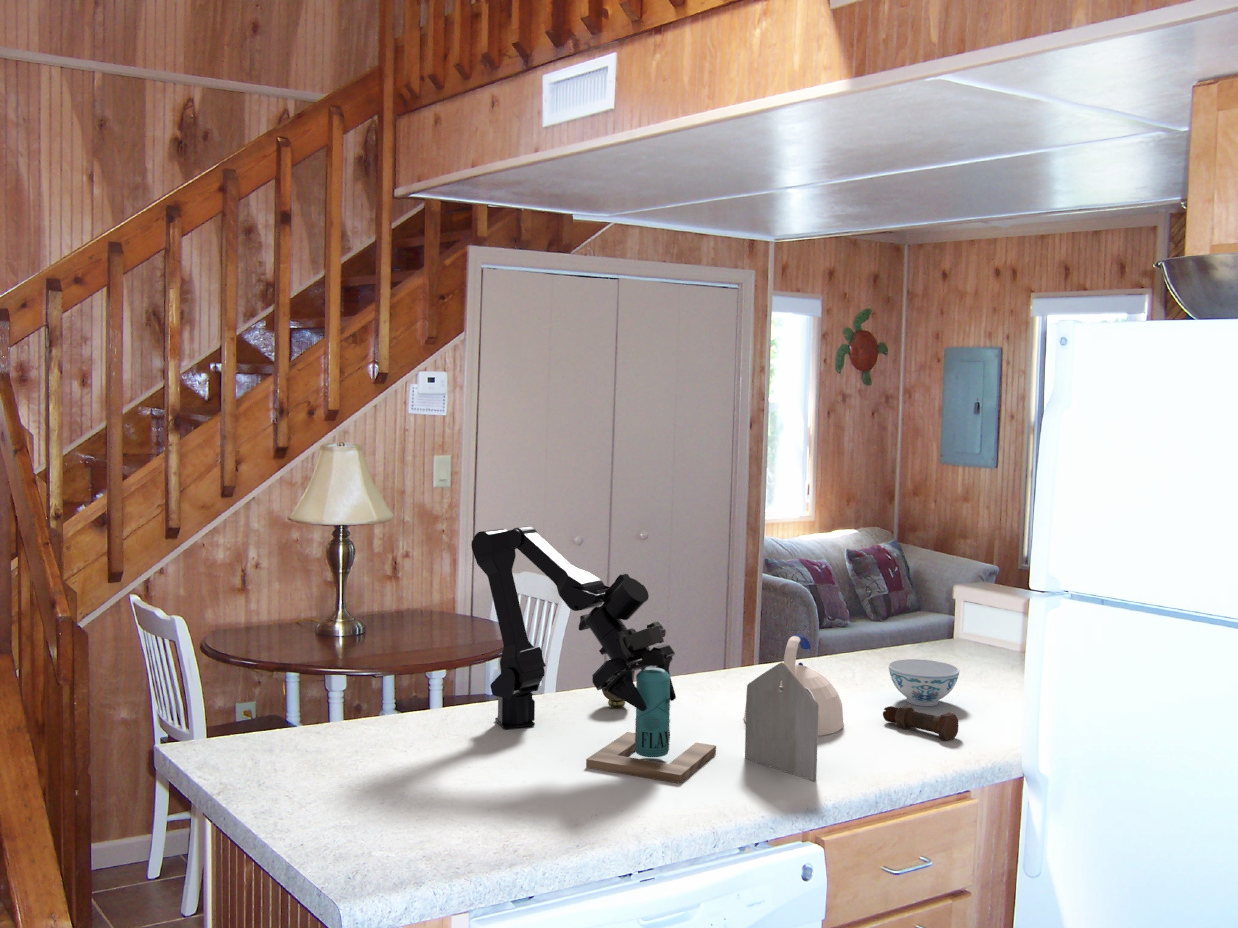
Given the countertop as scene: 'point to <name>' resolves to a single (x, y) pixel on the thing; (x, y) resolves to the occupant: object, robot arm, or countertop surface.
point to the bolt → (923, 721)
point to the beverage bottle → (653, 707)
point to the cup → (615, 697)
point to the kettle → (815, 688)
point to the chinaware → (923, 680)
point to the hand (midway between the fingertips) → (659, 704)
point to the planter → (782, 723)
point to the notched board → (675, 771)
